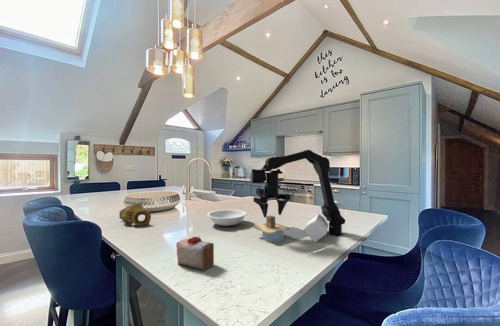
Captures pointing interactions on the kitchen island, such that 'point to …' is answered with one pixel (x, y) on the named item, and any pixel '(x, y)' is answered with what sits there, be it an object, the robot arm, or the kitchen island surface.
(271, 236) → the ceramic bowl
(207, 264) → the food item
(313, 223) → the milk carton
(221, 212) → the soup bowl
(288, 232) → the rubber mat
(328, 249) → the kitchen island surface
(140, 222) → the brown looped sculpture
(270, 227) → the oak lid
